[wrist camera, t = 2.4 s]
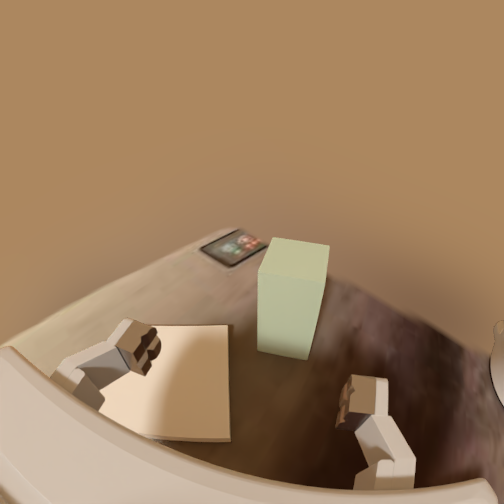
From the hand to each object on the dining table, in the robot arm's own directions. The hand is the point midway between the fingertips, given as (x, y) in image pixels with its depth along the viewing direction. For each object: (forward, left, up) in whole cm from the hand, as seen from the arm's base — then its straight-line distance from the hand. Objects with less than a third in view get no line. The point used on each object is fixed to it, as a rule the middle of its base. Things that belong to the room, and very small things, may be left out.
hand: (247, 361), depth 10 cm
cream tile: (+8, -7, -13) cm, 17 cm away
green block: (-4, -12, -13) cm, 18 cm away
